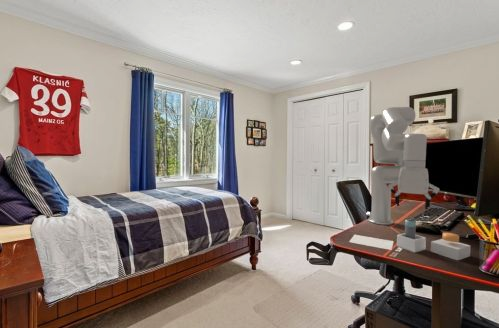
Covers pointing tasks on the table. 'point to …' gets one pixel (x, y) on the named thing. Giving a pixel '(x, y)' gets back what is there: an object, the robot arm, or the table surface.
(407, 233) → the marker
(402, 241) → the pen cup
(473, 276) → the table surface
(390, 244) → the paper
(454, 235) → the button
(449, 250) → the button box
